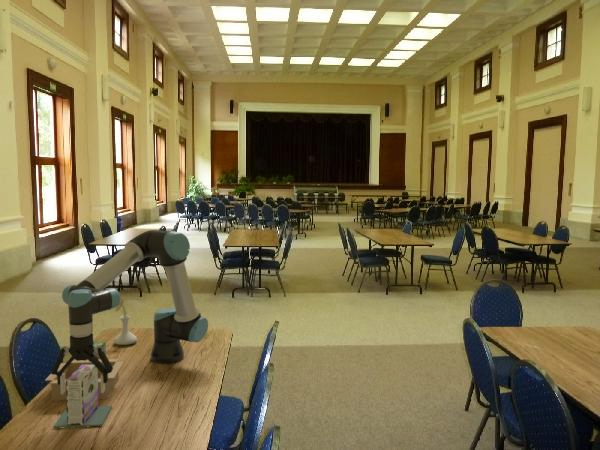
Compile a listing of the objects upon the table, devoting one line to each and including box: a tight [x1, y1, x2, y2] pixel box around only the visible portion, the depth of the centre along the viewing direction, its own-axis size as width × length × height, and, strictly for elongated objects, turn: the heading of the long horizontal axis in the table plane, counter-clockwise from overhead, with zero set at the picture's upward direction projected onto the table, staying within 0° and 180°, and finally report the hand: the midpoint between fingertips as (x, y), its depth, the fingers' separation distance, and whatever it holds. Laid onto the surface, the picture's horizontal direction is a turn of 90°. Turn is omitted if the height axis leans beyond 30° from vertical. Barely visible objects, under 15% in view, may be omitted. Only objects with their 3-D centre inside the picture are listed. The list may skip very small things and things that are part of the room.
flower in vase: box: [113, 296, 138, 346], centre depth 256 cm, size 13×11×25 cm
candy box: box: [66, 364, 100, 425], centre depth 180 cm, size 14×6×16 cm, turn 0°
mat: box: [52, 405, 113, 429], centre depth 181 cm, size 16×14×1 cm
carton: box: [44, 358, 125, 402], centre depth 204 cm, size 25×23×8 cm
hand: (83, 392), depth 180 cm, fingers open, 13 cm apart
